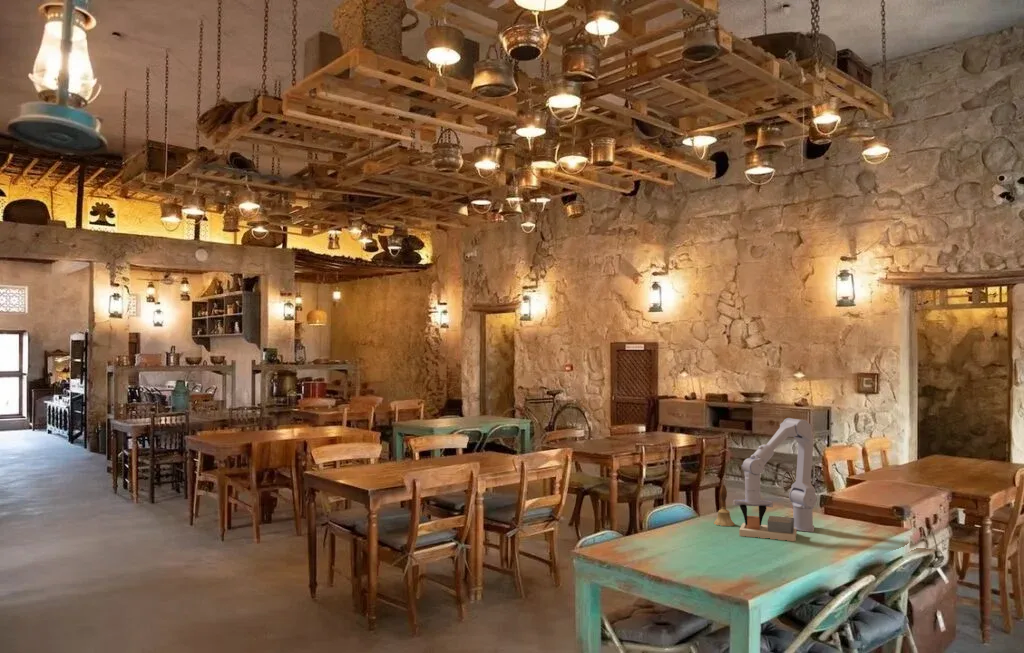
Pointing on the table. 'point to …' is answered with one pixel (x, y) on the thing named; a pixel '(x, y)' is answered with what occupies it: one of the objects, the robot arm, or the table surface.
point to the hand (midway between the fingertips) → (753, 524)
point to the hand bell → (724, 511)
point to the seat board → (766, 533)
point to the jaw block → (753, 522)
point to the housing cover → (781, 524)
